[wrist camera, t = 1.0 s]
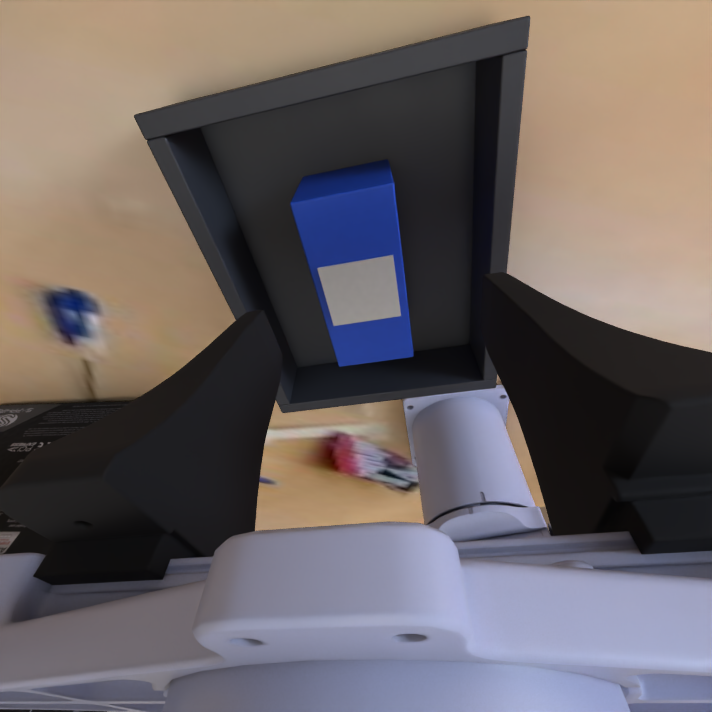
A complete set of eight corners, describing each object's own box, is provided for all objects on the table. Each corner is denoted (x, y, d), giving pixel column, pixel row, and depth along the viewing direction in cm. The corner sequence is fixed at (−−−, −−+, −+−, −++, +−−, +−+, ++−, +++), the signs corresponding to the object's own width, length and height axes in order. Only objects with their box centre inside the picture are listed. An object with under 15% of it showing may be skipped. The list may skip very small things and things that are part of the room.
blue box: (407, 316, 22) (414, 358, 19) (341, 325, 23) (338, 368, 20) (388, 158, 16) (394, 182, 13) (302, 176, 17) (288, 204, 14)
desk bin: (480, 347, 24) (496, 388, 21) (291, 372, 26) (282, 413, 23) (495, 23, 14) (531, 14, 11) (176, 103, 16) (132, 115, 13)
